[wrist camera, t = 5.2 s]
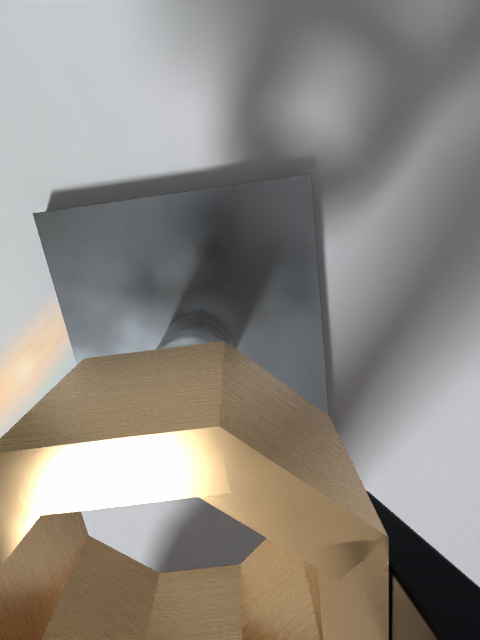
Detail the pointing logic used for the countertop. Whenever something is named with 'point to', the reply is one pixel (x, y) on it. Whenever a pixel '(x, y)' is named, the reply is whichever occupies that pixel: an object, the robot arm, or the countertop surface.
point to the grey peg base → (196, 276)
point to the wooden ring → (178, 483)
